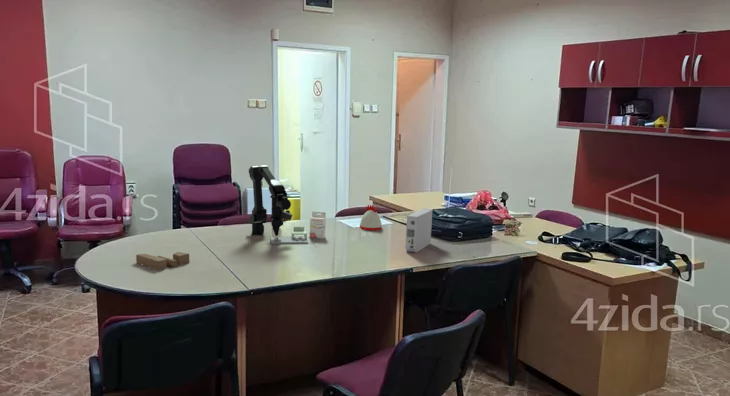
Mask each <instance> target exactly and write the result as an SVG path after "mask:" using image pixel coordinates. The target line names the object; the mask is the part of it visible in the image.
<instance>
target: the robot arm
mask: <svg viewBox="0 0 730 396" xmlns="http://www.w3.org/2000/svg"><path fill="white" fill-rule="evenodd" d="M248 174H249V178H250V180H251V181H252V189H253V190H252V191H253V206H254V207H253V208H252V210H251V215H250V217H249V218H248V223H249V224H250V225H251V235H264V233H265V225H264V224H266V223H267V219H268V214H267V212H268V211H267V208H265V207H264V203H263V202H264V201H263V187H262V186H263V185H262V184H263V183H262V180H263V179H264V180H265V182H266V184H267V185H268V191H269V193H270V196H269V198H270V199H271V209H270V210H271V214H270V217H269V218H270V222H271V227H272V228H273V230H274V233H275V235H276V236H278V232H279V228H281V227H282V226H284V220H285V219H286V220H287V221H292V217H293V214H292V213H291V212H290V210H289V209H290V208H291V206H292V202H291V201H290V200H289V198H288V193H287V190H286V189H285V186H284V184H283V183H282V182H281V181H278V180H277V179H276V178H275V176H274V175H273V173H272V172H271V170H270V168H269V166H268V165H255V166H253V165H252V166H250V167H249V168H248ZM283 219H284V220H283Z"/></svg>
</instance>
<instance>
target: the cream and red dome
mask: <svg viewBox="0 0 730 396" xmlns="http://www.w3.org/2000/svg"><path fill="white" fill-rule="evenodd" d="M365 209H366V212H364V214H363V215H362V217H361V220H360V223H359V228H361V229H360V230H363V229H365V230H364V231H379V230H378V229H381V230H382V227H383V226H382V221H381V217H380V215H379V214H378V212H377V208H376V206H374V205H373V204H370V205H369V204H367V206H365Z"/></svg>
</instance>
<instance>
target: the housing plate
mask: <svg viewBox="0 0 730 396" xmlns="http://www.w3.org/2000/svg"><path fill="white" fill-rule="evenodd" d="M270 244H271V245H308V244H309V241H308V238H307V239H305V236H304V235H294V239H292V235H290V236H289V235H287V236H285V235H284V236H282V235H281V237H272V235H271V236H270Z"/></svg>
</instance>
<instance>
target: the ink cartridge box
mask: <svg viewBox="0 0 730 396" xmlns="http://www.w3.org/2000/svg"><path fill="white" fill-rule="evenodd" d="M326 215H327V214H326V212H325V211H312V212H311V217H310V218H309V238H311V239H325V238H326V221H327V219H326V217H327V216H326Z"/></svg>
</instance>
